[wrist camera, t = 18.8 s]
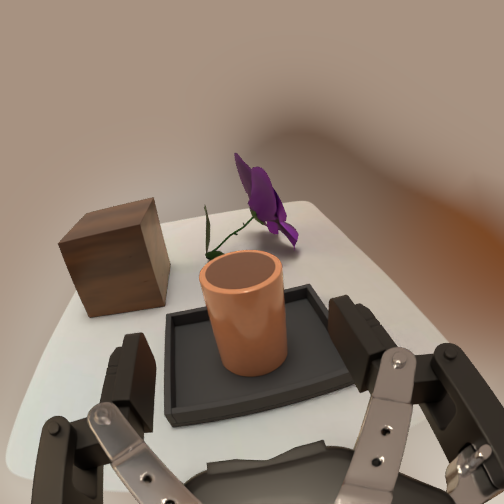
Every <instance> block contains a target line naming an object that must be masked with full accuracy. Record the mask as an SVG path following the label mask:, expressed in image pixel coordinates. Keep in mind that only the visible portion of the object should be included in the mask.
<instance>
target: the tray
mask: <svg viewBox="0 0 504 504" xmlns="http://www.w3.org/2000/svg"><path fill="white" fill-rule="evenodd" d="M284 296H285V310H286V324H287V339H288V354H287V357H286V359H285V361H284V362H283V363H282V364H281V365H280V366H279V367H278V368H277V369H275V370H274V371H272V372H270V373H268V374H265V375H261V376H256V377H245V376H240V375H237V374H234V373H232V372H230V371H229V370H228V369H226V368H225V366H224V365H223V364H222V362H221V359H220V356H219V352H218V349H217V345H216V342H215V338H214V334H213V331H212V327H211V323H210V319H209V316H208V312H207V308H206V307H201V308H196V309H191V310H186V311H180V312H175V313H170V314H166V329H165V359H164V415H165V416H166V418H167V420H168V421H169V423H170V424H171V426H172V427H177V426H184V425H192V424H198V423H205V422H211V421H217V420H222V419H228V418H233V417H238V416H243V415H247V414H252V413H256V412H261V411H265V410H269V409H273V408H277V407H281V406H285V405H288V404H292V403H296V402H299V401H303V400H306V399H309V398H313V397H316V396H319V395H322V394H326V393H329V392H332V391H335V390H338V389H341V388H343V387H346V386H349V385H352V384H355V383H354V381H353V379H352V377H351V375H350V373H349V372H348V370H347V368H346V366H345V364H344V362H343V360H342V358H341V357H340V355H339V353H338V351H337V349H336V347H335V346H334V344H333V342H332V340H331V338H330V335H329V331H328V313H329V311H328V310H327V308H326V307H325V305H324V304H323V302H322V301H321V299H320V298H319V296H318V295H317V293H316V292H315V291H314V289H313V288H312V286H311V285H310V284H307V285H302V286H298V287H294V288H289V289H285V290H284Z"/></svg>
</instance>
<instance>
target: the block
mask: <svg viewBox="0 0 504 504" xmlns="http://www.w3.org/2000/svg"><path fill="white" fill-rule="evenodd" d="M58 245H59V248H60V250H61V253H62V256H63V258H64V261H65V264H66V266H67V269H68V271H69V273H70V276H71V278H72V281H73V283H74V285H75V288H76V290H77V292H78V294H79V297H80V299H81V301H82V303H83V305H84V307H85V310H86V312H87V314H88V316H89V317H97V316H103V315H110V314H117V313H124V312H130V311H137V310H143V309H149V308H155V307H161V306H165V301H166V293H167V286H168V278H169V271H170V265H171V264H170V261H169V257H168V253H167V249H166V246H165V242H164V238H163V234H162V230H161V226H160V223H159V218H158V214H157V210H156V205H155V201H154V198H148V199H144V200H140V201H135V202H131V203H126V204H122V205H118V206H113V207H110V208H106V209H102V210H97V211H93V212H90V213H86V214H85V215H84V216H83V218H81V219H80V220H79V222H78V223H77V224H76V225H75V226H74V227H73V228H72V229H71V230H70V231H69V232H68V233H67V234H66V235H65V236H64V237H63V238H62V240H61V241H60V242H59V243H58Z"/></svg>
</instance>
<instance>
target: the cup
mask: <svg viewBox="0 0 504 504" xmlns="http://www.w3.org/2000/svg"><path fill="white" fill-rule="evenodd" d="M199 280H200V284H201V288H202V292H203V296H204V300H205V304H206V308H207V312H208V316H209V319H210V323H211V327H212V331H213V334H214V338H215V342H216V345H217V349H218V352H219V356H220V359H221V362H222V364H223V365H224V366H225V368H226V369H228V370H229V371H230V372H232V373H234V374H237V375H240V376H245V377H256V376H261V375H265V374H268V373H270V372H272V371H274V370H275V369H277V368H278V367H279V366H280V365H281V364H282V363H283V362H284V361H285V359H286V357H287V354H288V339H287V324H286V310H285V296H284V283H283V271H282V264H281V262H280V260H279V259H278V258H277V257H276V256H274V255H272V254H270V253H268V252H264V251H258V250H241V251H235V252H230V253H227V254H224V255H221V256H218V257H216V258H214V259H213V260H211V261H210V262H208V263H207V264H206V265H205V266H204V267H203V268H202V270H201V271H200V275H199Z"/></svg>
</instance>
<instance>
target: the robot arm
mask: <svg viewBox="0 0 504 504" xmlns="http://www.w3.org/2000/svg"><path fill="white" fill-rule="evenodd" d="M328 331H329V335H330V338H331V340H332V342H333V344H334V346H335V347H336V349H337V351H338V353H339V355H340V357H341V358H342V360H343V362H344V364H345V366H346V368H347V370H348V372H349V373H350V375H351V377H352V379H353V381H354V383H355V385H356V387H357V388H358V390H359V392H360V393H361V392H364V391H367V390H369V392H370V394H371V397H370V400H369V403H368V407H367V410H366V413H365V416H364V420H363V423H362V426H361V429H360V432H359V435H358V437H357V440H356V443H355V446H354V448H353V450H352V449H349V448H345V447H339V446H326V445H325V443H324V440H321V441H317V442H314V443H310V444H306V445H302V446H299V447H295V448H293V449H291V450H289V451H287V452H285V453H283V454H280V455H278V456H276V457H274V458H272V459H269V460H240V459H233V460H226V461H219V462H210V463H207V470H205V471H203V472H201V473H198V474H196V475H195V476H193V477H192V478H190V479H189V480H188V481H186V482H185V483H184V484H183V483H182V482H181V481H180V480H179V479H178V478H177V477H176V476H175V475H174V474H173V473H172V472H171V471H170V470H169V469H168V468H167V467H166V466H165V464H164V463H163V462H162V461H161V460H160V459H159V458H158V457H157V456H156V454H155V453H154V452H153V451H152V450H151V449H150V448H149V446H148V445H147V444H146V443H145V442H144V433H149V432H153V415H154V397H155V382H156V362H155V359H154V356H153V354H152V352H151V349H150V347H149V345H148V343H147V340H146V338H145V336H144V334H143V333H134V334H126V335H125V337H124V340H123V345H122V347H116V349H115V350H114V352H113V353H112V354H111V356H110V359H109V363H108V368H107V371H106V376H105V380H104V385H103V389H102V394H101V399H100V403H99V404H97V405H95V406H94V407H93V408H92V409H91V410H90V411H89V413H88V416H87V417H86V418H83V419H80V420H77V421H73V422H69V421H68V420H67V419H66V418H64V417H62V416H54V417H52V418H50V419H48V420H47V421H46V422H45V424H44V426H43V428H42V433H41V438H40V443H39V448H38V454H37V460H36V466H35V473H34V480H33V489H32V500H31V504H103V466H104V465H106V464H109V463H110V464H111V466H112V468H113V470H114V471H115V472H116V474H117V475H118V477H119V478H120V479H121V481H122V482H123V483H124V485H125V486H126V487H127V489H128V490H129V491H130V493H131V494H132V495H133V496H134V498H135V499H136V500H137V501H138V503H139V504H484V503H486V502H487V501H489V500H491V499H492V498H494V497H495V496H497V495H498V494H500V493H502V492H503V491H504V408H503V406H502V405H501V403H500V402H499V400H498V399H497V397H496V396H495V394H494V393H493V391H492V390H491V389H490V387H489V386H488V384H487V383H486V381H485V380H484V379H483V377H482V376H481V375H480V373H479V372H478V370H477V369H476V368H475V366H474V365H473V364H472V362H471V361H470V360H469V358H468V357H467V356H466V355H465V353H464V352H463V351H462V350H461V348H459V347H458V346H456V345H455V344H451V343H443V344H440V345H438V346H437V347H436V349H435V351H434V353H433V354H426V355H414V354H413V353H412V352H411V351H409V350H408V349H405V348H402V347H397V345H396V344H395V343H394V341H393V340H392V339H391V337H390V336H389V334H388V333H387V332H386V330H385V329H384V328H383V326H382V325H380V322H379V321H378V320H377V319H376V318H375V316H374V315H373V313H372V312H371V311H370V309H368V308H367V307H365V306H363V305H362V304H360V303H359V304H356V305H355V304H354V303H353V302H352V300H351V299H350V298H349V296H348V295H344V296H339V297H335V298H331V299H330V300H329V313H328ZM413 404H419V406H420V407H421V409H422V411H423V413H424V415H425V417H426V418H427V420H428V422H429V424H430V426H431V428H432V430H433V432H434V434H435V435H436V437H437V439H438V441H439V443H440V445H441V447H442V449H443V451H444V453H445V455H446V457H447V459H448V461H449V463H450V464H449V465H448V467H447V469H446V472H445V478H446V483H447V490H446V492H445V491H443V490H441V489H439V488H436V487H433V486H431V485H429V484H426V483H424V482H421V481H419V480H417V479H414V478H412V477H410V476H407V475H405V474H403V473H400V472H399V469H400V465H401V461H402V457H403V453H404V449H405V445H406V441H407V436H408V432H409V427H410V422H411V416H412V411H413Z"/></svg>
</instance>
